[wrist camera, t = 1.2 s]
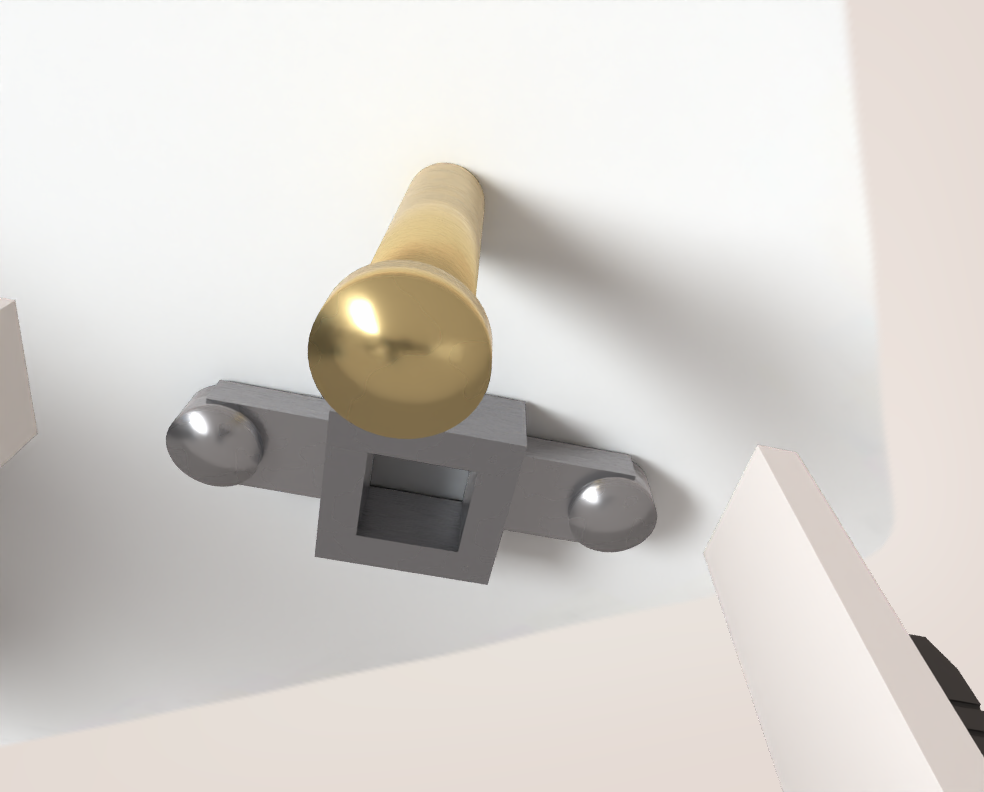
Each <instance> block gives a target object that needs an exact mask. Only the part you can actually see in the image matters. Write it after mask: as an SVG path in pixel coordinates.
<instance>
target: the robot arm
mask: <svg viewBox="0 0 984 792" xmlns="http://www.w3.org/2000/svg"><path fill="white" fill-rule="evenodd" d="M37 434H38V433H37V427H36V421H35V415H34V409H33V403H32V397H31V392H30V386H29V380H28V374H27V368H26V362H25V356H24V350H23V344H22V338H21V332H20V326H19V320H18V314H17V308H16V302H15V300H11V299H6V298H1V297H0V468H1V467H2V466H3V465H4V464H5V463H6V462H7V461H8V460H9V459H11V458H12V457H13V456H14V455H15V454H16V453H17V452H18V451H19V450H20V449H21V448H22V447H24V446H25V445H26V444H27V443H28V442H29V441H30V440H31V439H32V438H33V437H34V436H35V435H37ZM703 555H704V557H705V560H706V563H707V566H708V569H709V572H710V575H711V578H712V581H713V584H714V587H715V590H716V593H717V596H718V599H719V602H720V605H721V608H722V611H723V614H724V617H725V620H726V623H727V626H728V629H729V632H730V635H731V638H732V641H733V644H734V647H735V650H736V653H737V656H738V659H739V662H740V665H741V668H742V671H743V674H744V677H745V680H746V683H747V686H748V689H749V692H750V695H751V698H752V701H753V704H754V707H755V710H756V713H757V715H758V719H759V722H760V725H761V728H762V731H763V734H764V737H765V740H766V742H767V746H768V749H769V752H770V754H771V757H772V760H773V763H774V766H775V769H776V772H777V775H778V778H779V781H780V784H781V787H782V790H783V792H984V711H981V710H980V705H981V704H980V703H979V701H978V700H977V698H976V697H975V695H974V693H973V692H972V691H971V689H970V687H969V686H968V684H967V683H966V681H965V680H964V678H963V677H962V675H961V674H960V672H959V671H958V669H957V668H956V667H955V666H954V665H953V664H952V663H951V662H950V661H949V660H948V659H947V658H946V657H945V656H944V655H943V654H942V653H941V652H940V651H939V650H938V649H937V648H936V647H935V646H934V645H933V644H932V643H931V642H930V641H929V640H927V638H926V637H921V636H916V635H910V634H908V633H907V631H906V629H905V628H904V626H903V625H902V623H901V621H900V620H899V618H898V616H897V615H896V613H895V612H894V610H893V608H892V607H891V605H890V603H889V602H888V600H887V598H886V597H885V595H884V593H883V592H882V590H881V589H880V587H879V586H878V584H877V582H876V580H875V579H874V577H873V576H872V574H871V572H870V571H869V569H868V568H867V566H866V564H865V562H864V561H863V559H862V558H861V556H860V554H859V553H858V551H857V549H856V548H855V546H854V545H853V543H852V541H851V540H850V538H849V536H848V535H847V533H846V531H845V530H844V528H843V527H842V525H841V523H840V522H839V520H838V518H837V517H836V515H835V513H834V512H833V510H832V509H831V507H830V505H829V504H828V502H827V500H826V499H825V497H824V496H823V494H822V492H821V491H820V489H819V487H818V486H817V484H816V482H815V481H814V479H813V478H812V476H811V474H810V473H809V471H808V469H807V468H806V466H805V464H804V463H803V461H802V460H801V458H800V456H799V455H798V453H797V452H793V451H788V450H783V449H778V448H772V447H767V446H762V445H757V447H756V449H755V451H754V453H753V455H752V457H751V459H750V461H749V463H748V465H747V467H746V469H745V471H744V473H743V475H742V477H741V479H740V481H739V483H738V485H737V487H736V488H735V490H734V492H733V494H732V496H731V498H730V500H729V502H728V504H727V506H726V508H725V510H724V512H723V514H722V516H721V518H720V520H719V522H718V524H717V526H716V528H715V530H714V532H713V534H712V536H711V538H710V540H709V542H708V544H707V546H706V548H705V550H704V552H703Z"/></svg>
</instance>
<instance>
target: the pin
mask: <svg viewBox="0 0 984 792" xmlns="http://www.w3.org/2000/svg"><path fill="white" fill-rule="evenodd" d="M484 209H485V199H484V194H483V190H482V188H481V186H480V184H479V182H478V181H477V179H476V178H475V177H474V176H473V175H472V174H471V173H470V172H469V171H468V170H466V169H464V168H463V167H461V166H458V165H455V164H451V163H437V164H433V165H430V166H428V167H426V168H424V169H423V170H421V171H420V172H419V173H418V174H417V175H416V176H415V177H414V179H413V180H412V182H411V184H410V186H409V188H408V190H407V192H406V194H405V196H404V198H403V200H402V202H401V204H400V206H399V208H398V210H397V212H396V214H395V216H394V218H393V220H392V222H391V224H390V226H389V228H388V230H387V232H386V234H385V236H384V238H383V240H382V242H381V244H380V246H379V248H378V250H377V252H376V254H375V256H374V258H373V260H372V262H371V264H370V265H367V266H365V267H362V268H360V269H358V270H356V271H354V272H353V273H351V274H350V275H348V276H347V277H346V278H344V279H343V280H342V281H341V282H340V283H339V284H338V285H337V286H336V287H335V288H334V290H333V291H332V292H331V294H330V295H329V297H328V298H327V300H326V302H325V304H324V305H323V307H322V309H321V310H320V312H319V314H318V316H317V318H316V320H315V322H314V324H313V326H312V329H311V332H310V336H309V343H308V360H309V367H310V370H311V374H312V377H313V379H314V382H315V384H316V386H317V388H318V390H319V391H320V393H321V395H322V396H323V398H324V399H325V400H326V401H327V403H328V404H329V405H330V406H331V407H332V408H333V409H334V410H335V411H336V412H337V413H338V414H339V415H341V416H342V417H343V418H344V419H346V420H347V421H349V422H350V423H352V424H354V425H355V426H357V427H359V428H361V429H363V430H365V431H368V432H371V433H374V434H376V435H380V436H384V437H389V438H397V439H416V438H424V437H429V436H433V435H436V434H439V433H442V432H445V431H447V430H449V429H451V428H453V427H455V426H456V425H458V424H459V423H461V422H462V421H463V420H465V419H466V418H467V417H468V416H469V415H470V414H471V413H472V412H473V411H474V410H475V409H476V408H477V406H478V405H479V403H480V402H481V400H482V399H483V397H484V395H485V393H486V391H487V388H488V384H489V381H490V376H491V369H492V333H491V327H490V324H489V320H488V317H487V315H486V313H485V311H484V308H483V307H482V305H481V304H480V302H479V300H478V299H477V298H476V289H477V279H478V269H479V259H480V249H481V239H482V229H483V219H484Z"/></svg>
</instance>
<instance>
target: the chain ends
mask: <svg viewBox="0 0 984 792" xmlns="http://www.w3.org/2000/svg"><path fill="white" fill-rule="evenodd" d="M166 445H167V449H168V452H169V455H170V457H171V458H172V460H173V462H174V463H175V464H176V465H177V467H178V468H179V469H180V470H182V471H183V472H184V473H185V474H187V475H188V476H190V477H191V478H193V479H195V480H197V481H199V482H202V483H205V484H208V485H213V486H233V485H237V484H240V485H246V486H252V487H257V488H263V489H269V490H275V491H281V492H287V493H293V494H298V495H304V496H310V497H316V498H321V500H320V510H319V520H318V530H317V540H316V550H315V557H320V558H326V559H332V560H339V561H345V562H351V563H357V564H363V565H369V566H375V567H382V568H388V569H394V570H400V571H406V572H412V573H419V574H425V575H431V576H437V577H443V578H449V579H455V580H462V581H468V582H474V583H480V584H486V585H488V581H489V578H490V574H491V571H492V567H493V564H494V560H495V557H496V553H497V550H498V546H499V543H500V539H501V536H502V533H503V529H504V530H509V531H515V532H521V533H527V534H533V535H539V536H545V537H551V538H556V539H562V540H568V541H574V542H580V543H581V544H583V545H584V546H586V547H588V548H590V549H593V550H596V551H601V552H618V551H623V550H627V549H630V548H632V547H634V546H636V545H638V544H640V543H641V542H643V541H644V540H645V539H646V538H647V537H648V536H649V535H650V534H651V532H652V531H653V529H654V527H655V524H656V520H657V512H656V508H655V504H654V501H653V497H652V494H651V490H650V487H649V483H648V480H647V477H646V475H645V473H644V471H643V470H642V469H641V468H640V467H639V466H638V465H637V464H635V463H634V462H632V459H631V456H630V455H626V454H621V453H615V452H610V451H604V450H599V449H594V448H588V447H583V446H577V445H572V444H566V443H561V442H555V441H550V440H545V439H539V438H534V437H528V436H527V432H526V410H525V402H523V401H518V400H513V399H508V398H502V397H497V396H492V395H486V394H485V395H484V397H483V399H482V400H481V402H480V403H479V405H478V406H477V408H476V409H475V410H474V411H473V412H472V413H471V414H470V415H469V416H468V417H467V418H466V419H465V420H463V421H462V422H461V423H459V424H458V425H456V426H455V427H453V428H451V429H449V430H447V431H445V432H442V433H439V434H436V435H433V436H429V437H424V438H416V439H397V438H389V437H384V436H380V435H376V434H374V433H371V432H368V431H365V430H363V429H361V428H359V427H357V426H355V425H354V424H352V423H350V422H349V421H347V420H346V419H344V418H343V417H342V416H341V415H339V414H338V413H337V412H336V411H335V410H334V409H333V408H332V407H331V406H330V405H329V404H328V403H327V401H326V400H325V399H322V398H316V397H311V396H305V395H300V394H294V393H289V392H283V391H278V390H273V389H267V388H262V387H256V386H251V385H245V384H240V383H234V382H229V381H224V380H219V382H218V383H217V385H214V386H209V387H206V388H204V389H202V390H200V391H199V392H197V393H196V394H195V395H194V396H193V397H192V398H191V400H190V401H189V402H188V404H187V405H186V406H185V407H184V409H183V410H182V411H181V413H180V414H179V415H178V416H177V418H176V419H175V420H174V422H173V423H172V424H171V426H170V427H169V429H168V432H167V436H166ZM374 454H378V455H383V456H389V457H394V458H400V459H406V460H411V461H417V462H423V463H428V464H434V465H439V466H445V467H451V468H456V469H462V470H468V471H470V472H469V476H468V481H467V485H466V489H465V493H464V497H463V501H462V502H460V501H454V500H448V499H443V498H437V497H431V496H425V495H420V494H414V493H408V492H402V491H397V490H391V489H385V488H379V487H373V486H370V480H371V473H372V467H373V460H374Z"/></svg>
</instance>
